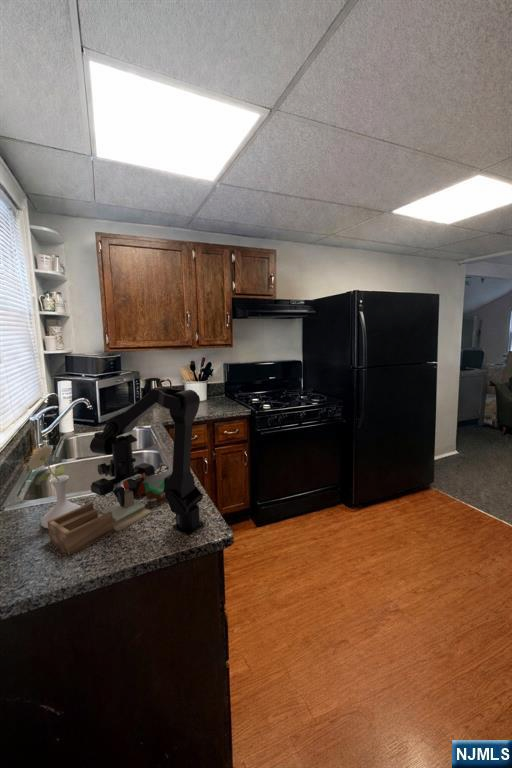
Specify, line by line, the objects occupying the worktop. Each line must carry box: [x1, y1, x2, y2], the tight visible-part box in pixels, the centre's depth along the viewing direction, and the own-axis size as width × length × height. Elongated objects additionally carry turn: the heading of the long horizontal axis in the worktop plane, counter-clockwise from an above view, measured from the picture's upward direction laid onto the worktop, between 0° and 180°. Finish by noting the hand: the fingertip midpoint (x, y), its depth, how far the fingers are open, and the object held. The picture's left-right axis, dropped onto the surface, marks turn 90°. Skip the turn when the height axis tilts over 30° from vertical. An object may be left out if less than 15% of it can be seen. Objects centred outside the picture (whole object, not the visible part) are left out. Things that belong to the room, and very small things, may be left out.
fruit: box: [122, 473, 146, 496], centre depth 114 cm, size 10×10×10 cm
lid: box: [99, 489, 146, 521], centre depth 98 cm, size 8×10×5 cm
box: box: [47, 502, 115, 556], centre depth 88 cm, size 11×12×6 cm
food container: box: [143, 463, 172, 505], centre depth 109 cm, size 12×6×10 cm, turn 168°
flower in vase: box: [27, 444, 82, 529], centre depth 94 cm, size 13×11×25 cm
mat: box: [98, 507, 153, 532], centre depth 98 cm, size 13×12×1 cm
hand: (127, 503), depth 99 cm, fingers closed on lid, 3 cm apart
